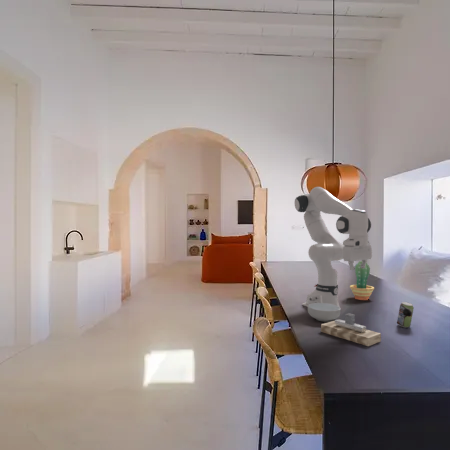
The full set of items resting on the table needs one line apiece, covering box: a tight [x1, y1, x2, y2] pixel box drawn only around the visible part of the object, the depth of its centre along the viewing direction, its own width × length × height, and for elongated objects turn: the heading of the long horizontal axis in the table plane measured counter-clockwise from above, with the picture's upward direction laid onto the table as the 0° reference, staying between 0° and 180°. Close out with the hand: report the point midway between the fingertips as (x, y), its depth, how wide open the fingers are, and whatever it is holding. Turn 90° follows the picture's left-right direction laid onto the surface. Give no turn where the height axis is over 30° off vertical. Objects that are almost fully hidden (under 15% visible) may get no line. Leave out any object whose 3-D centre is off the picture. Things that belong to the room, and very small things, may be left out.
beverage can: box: [396, 301, 415, 329], centre depth 175 cm, size 6×7×12 cm
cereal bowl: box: [307, 303, 342, 323], centre depth 187 cm, size 17×17×7 cm
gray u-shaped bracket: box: [334, 312, 367, 333], centre depth 160 cm, size 14×3×10 cm, turn 37°
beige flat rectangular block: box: [320, 320, 382, 347], centre depth 160 cm, size 24×10×4 cm, turn 37°
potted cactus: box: [349, 260, 375, 301], centre depth 237 cm, size 15×15×25 cm
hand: (357, 269), depth 177 cm, fingers open, 8 cm apart
